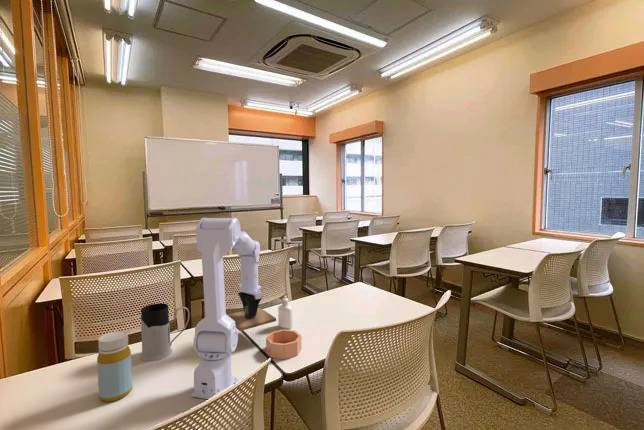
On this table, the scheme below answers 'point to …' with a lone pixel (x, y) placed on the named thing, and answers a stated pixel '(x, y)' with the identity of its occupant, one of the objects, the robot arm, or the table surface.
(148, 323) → the glass holder
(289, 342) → the bowl
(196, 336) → the robot arm
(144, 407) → the table surface
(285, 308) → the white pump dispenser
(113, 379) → the bottle
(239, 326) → the lid
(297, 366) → the table surface
